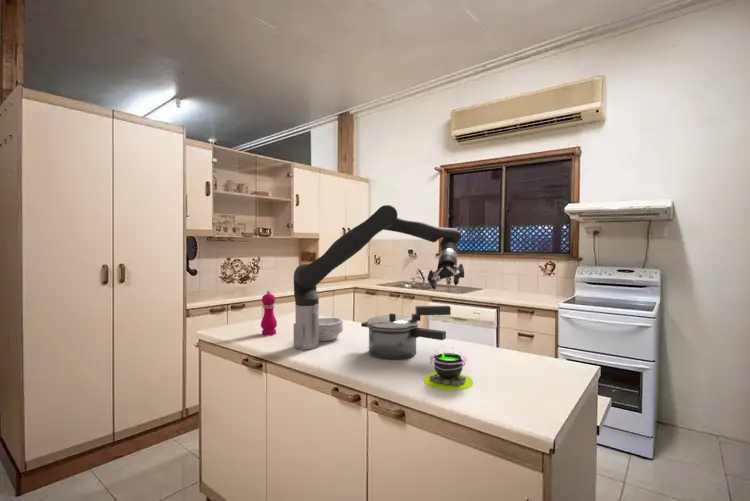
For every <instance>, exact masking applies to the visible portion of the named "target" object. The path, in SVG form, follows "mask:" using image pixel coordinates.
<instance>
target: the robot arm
mask: <svg viewBox="0 0 750 501" xmlns="http://www.w3.org/2000/svg"><path fill="white" fill-rule="evenodd" d="M398 215H399V214H398V211H397V209H396V208H395V207H394V206H392V205H389V204H386V205H381V206H380V207H379V208H378V209H377V210H376V211H375V212H374V213H373V214H371V216H370V217H368V218H367V219H366V220H364V221H362V222H361V223H360V224H358V225H357V226H354V227H353V228H352V229H350V230H349V231H347V232H346V233H345V234H343V235H341V236H340V237H339V238H338V239H336V240H335V241H334V242H333V243H331V245H330V246H329V248H327V250H326V251H325V252H324V253H323V254H322V255H321V256H320V257H319V258H316V259H315V260H313V261H312V262H310V263H309V264H308V263H303V264H300V265H299V266H297V267H296V268H295V270H294V273H293V295H294V300H295V303H294V304H295V308H294V309H295V323H293V348H295V349H297V350H301V351H304V350H313V349H317V348H319V347H320V341H319V318H320V317H319V313H320V312H319V308H320V307H319V304H320V303H319V300H320V299H319V296H318V292H317V285H319V284H320V283H321V282H322V280H324V279H325V278H327V276H328V275H329V274H330V273H332V271H334V270H335V269H337V267H340V266H341V265H343V264H344V263H346V261H348V260H349V259H350V258H352V257H353V256H354V255H356V254H357V253H358V252H359V251H361V250H362V249H363V248H364V247H365V246H366V245H367V244H368V243H369V242H371V240H373V238H375V236H376V235H377V234H379V233H380V232H382V231H390V232H395V233H400V234H405V235H409V236H412V237H416V238H418V239H422V240H424V241H428V242H431V243H436V242H437V241H439V240H440V239H441V241H440V242H439V247H440V254H439V257H438V262H437V269H436V271H433V270H429V273H428V276H427V282H428V283H429V285H430V286H431V288H432V289H433V290H436V289H437V284H438V282H441V281H442V280H443V279H447V278H448V279H449V278H451V277H452V278H453V284H454V286H458V284H459V282H460V278H462V279H463V278H465V267H464V266H463V264H462V263H459V264H458V244H459V242H460V241H461V240H462V234H461V232H460V231H459V230H458V229H456V228H452V227H441V226H440V227H439V226H436V225H435V226H434V225H432V224H429V223H426V222H421V221H414V220H412V221H411V220H407V219H403V218H400V217H398ZM457 271H458V272H457Z"/></svg>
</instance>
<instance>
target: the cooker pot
mask: <svg viewBox="0 0 750 501" xmlns="http://www.w3.org/2000/svg"><path fill="white" fill-rule="evenodd" d="M360 327H362V328H368V350H369V351H368V353H369V355H370V356H371V357H373V358H375V359H380V360H388V361H399V360H400V361H401V360H408V359H411V358H413V357H415V356H416V355H417V338H424V339H425V338H426V339H432V340H437V341H444V340H446V338H447V332H446V330H439V329H438V330H437V329H430V328H422V327H419V324H418V323H417V325H416V326H414V327H410V328H404V329H383V328H376V327H372V326H370V325H368V321H365V322H361V326H360Z"/></svg>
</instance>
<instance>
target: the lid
mask: <svg viewBox="0 0 750 501" xmlns="http://www.w3.org/2000/svg"><path fill="white" fill-rule="evenodd" d="M451 308H452V307H451V306H450V305H415V308H414V309H415V311H414V312H415V313H411V315H410V316H406V315H397V314H396V313H389V315H378V316H374V317H369V318H368V319H367V322H368V325H370V326H372V327H376V328H383V329H404V328H410V327H414V326H416V325H417V324H418V322H421V316H451V312H452V311H451V310H452V309H451Z"/></svg>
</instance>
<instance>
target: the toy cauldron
mask: <svg viewBox="0 0 750 501" xmlns="http://www.w3.org/2000/svg"><path fill="white" fill-rule="evenodd" d="M450 345H453V344H451V343H450ZM455 347H456V345H455V344H454V345H453V347H451V348H452V349H454V348H455ZM441 348H444V349H445V348H446V349H447V348H450V347H447V346H443V345H442V346H441ZM438 349H439V347H437V348H436V350H435V352H436V353H435V354H432V355H430V356H429V361H430V363H431V365H432V366H433V368H434V371H435V372H431V373H429V374H427V375H425V376H424V377H423V382H424V383H425V384H426V385H427V386H429V387H431V388H434V389H437V390H444V391H462V390H466V389H469V388H471V387H472V386H473V385H474V380H473V379H472V378H471V377H469V376H468V375H465V374H463V373H462V371H463V368H464V366H465V365H466V362H467V361H468V358H467V357H465V355H464V356H463V355H461V353H462V350H460V349H459V353H455V352H453V353H452V352H445V351H443V352H438V351H437V350H438Z"/></svg>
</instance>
